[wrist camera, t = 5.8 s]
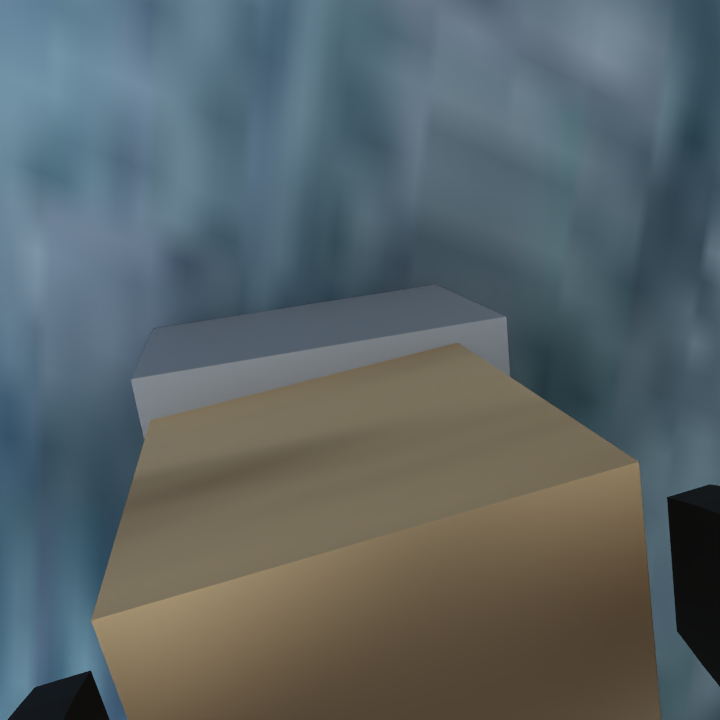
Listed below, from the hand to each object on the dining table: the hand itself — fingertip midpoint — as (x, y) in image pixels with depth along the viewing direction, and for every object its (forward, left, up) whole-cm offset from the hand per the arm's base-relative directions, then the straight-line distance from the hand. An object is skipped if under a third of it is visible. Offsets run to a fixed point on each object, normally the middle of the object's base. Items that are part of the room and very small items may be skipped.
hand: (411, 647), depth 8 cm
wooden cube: (0, 0, -3) cm, 3 cm away
